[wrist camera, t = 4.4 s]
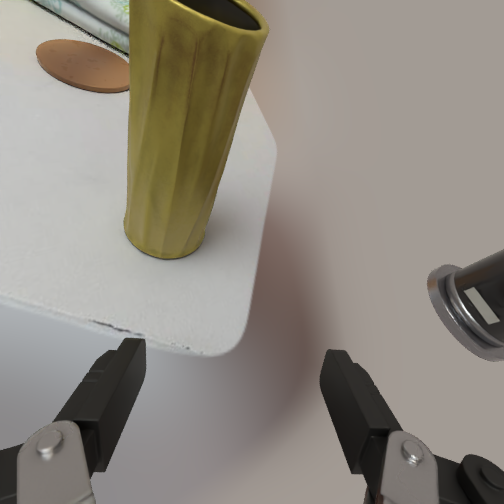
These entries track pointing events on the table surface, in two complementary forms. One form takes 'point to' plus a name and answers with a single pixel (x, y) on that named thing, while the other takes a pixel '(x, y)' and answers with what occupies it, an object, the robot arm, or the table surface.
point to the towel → (96, 18)
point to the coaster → (84, 65)
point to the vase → (184, 113)
